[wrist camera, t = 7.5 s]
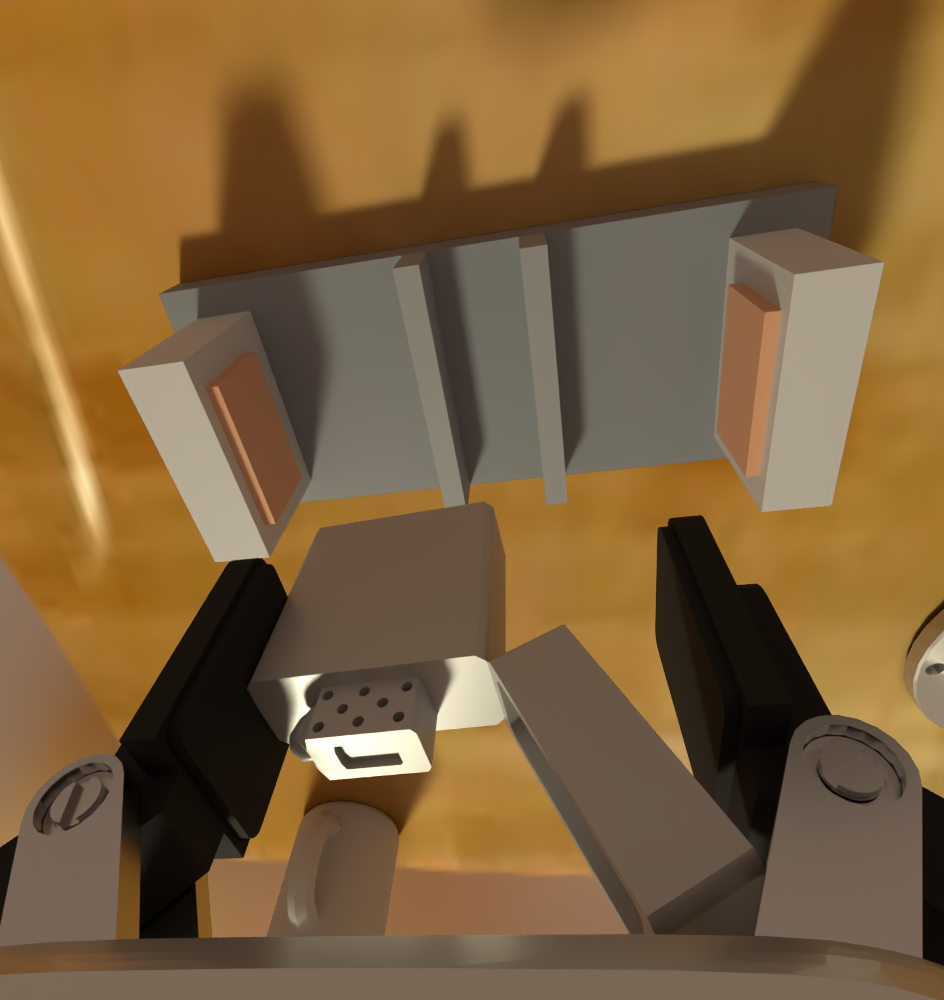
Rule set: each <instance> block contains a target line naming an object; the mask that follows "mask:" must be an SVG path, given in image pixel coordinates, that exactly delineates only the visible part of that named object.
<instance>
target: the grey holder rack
mask: <svg viewBox="0 0 944 1000" xmlns="http://www.w3.org/2000/svg"><path fill="white" fill-rule="evenodd" d="M837 188H838V186H836V185H831V184H827V183H822V182H817V181H814V182H807V183H801V184H795V185H789V186H783V187H776V188H770V189H764V190H758V191H752V192H745V193H739V194H733V195H727V196H721V197H714V198H708V199H702V200H696V201H690V202H683V203H677V204H671V205H665V206H658V207H652V208H646V209H640V210H634V211H627V212H621V213H615V214H609V215H603V216H596V217H590V218H584V219H578V220H572V221H565V222H559V223H553V224H547V225H541V226H534V227H528V228H522V229H516V230H509V231H503V232H497V233H491V234H485V235H478V236H472V237H466V238H460V239H454V240H447V241H441V242H435V243H429V244H423V245H416V246H410V247H404V248H398V249H392V250H385V251H379V252H373V253H367V254H360V255H354V256H348V257H342V258H336V259H329V260H323V261H317V262H311V263H305V264H298V265H292V266H286V267H280V268H274V269H267V270H261V271H255V272H249V273H243V274H236V275H230V276H224V277H218V278H211V279H205V280H199V281H193V282H187V283H180V284H178V285H176V286H174V287H172V288H170V289H168V290H166V291H164V292H162V293H160V294H159V296H160V298H161V300H162V303H163V305H164V307H165V310H166V312H167V314H168V316H169V319H170V321H171V323H172V326H173V328H174V330H175V332H176V333H175V334H173V335H172V336H170V337H169V338H167V339H166V340H164V341H163V342H161V343H159V344H158V345H156V346H155V347H153V348H152V349H150V350H149V351H147V352H146V353H144V354H143V355H141V356H139V357H138V358H136V359H135V360H133V361H132V362H130V363H129V364H127V365H126V366H124V367H123V368H121V369H120V370H118V372H119V374H120V376H121V378H122V380H123V382H124V384H125V386H126V388H127V390H128V392H129V394H130V396H131V398H132V400H133V402H134V404H135V406H136V408H137V410H138V412H139V414H140V416H141V417H142V419H143V421H144V423H145V425H146V427H147V429H148V431H149V433H150V435H151V437H152V439H153V441H154V443H155V445H156V447H157V449H158V451H159V453H160V455H161V457H162V459H163V461H164V463H165V464H166V466H167V468H168V470H169V472H170V474H171V476H172V478H173V480H174V482H175V484H176V486H177V488H178V490H179V492H180V494H181V496H182V498H183V500H184V502H185V504H186V506H187V508H188V510H189V511H190V513H191V515H192V517H193V519H194V521H195V523H196V525H197V527H198V529H199V531H200V533H201V535H202V537H203V539H204V541H205V543H206V545H207V547H208V549H209V551H210V553H211V555H212V556H213V558H214V560H215V562H223V561H233V560H241V559H252V558H266V557H270V556H271V554H272V552H273V550H274V548H275V547H276V545H277V543H278V541H279V539H280V537H281V536H282V534H283V532H284V530H285V528H286V526H287V524H288V523H289V521H290V519H291V517H292V515H293V513H294V512H295V510H296V508H297V506H298V504H299V503H300V502H310V501H320V500H329V499H339V498H348V497H358V496H367V495H377V494H387V493H396V492H406V491H415V490H425V489H434V488H441V493H442V497H443V502H444V506H445V508H448V507H454V506H460V505H466V504H468V499H469V490H470V485H473V484H482V483H492V482H502V481H511V480H521V479H530V478H540V477H543V479H544V488H545V498H546V505H551V504H561V503H568V498H567V486H566V475H569V474H578V473H588V472H597V471H607V470H617V469H626V468H636V467H645V466H655V465H664V464H674V463H684V462H693V461H703V460H712V459H722V458H728V460H729V461H730V463H731V464H732V466H733V468H734V469H735V471H736V472H737V474H738V476H739V477H740V479H741V480H742V482H743V483H744V485H745V487H746V488H747V490H748V491H749V493H750V494H751V496H752V498H753V499H754V501H755V502H756V504H757V505H758V507H759V509H760V510H761V512H766V511H777V510H788V509H799V508H810V507H821V506H831V505H832V500H833V496H834V491H835V486H836V482H837V477H838V473H839V468H840V463H841V459H842V454H843V450H844V445H845V440H846V436H847V431H848V427H849V422H850V417H851V413H852V408H853V404H854V399H855V394H856V390H857V385H858V381H859V376H860V371H861V367H862V362H863V358H864V353H865V348H866V344H867V339H868V335H869V330H870V325H871V321H872V316H873V312H874V307H875V302H876V298H877V293H878V289H879V284H880V279H881V275H882V270H883V266H884V262H883V261H881V260H878V259H875V258H873V257H870V256H868V255H865V254H863V253H860V252H858V251H855V250H853V249H850V248H847V247H845V246H842V245H840V244H837V243H835V242H832V241H830V240H829V237H830V231H831V225H832V219H833V213H834V207H835V201H836V194H837Z"/></svg>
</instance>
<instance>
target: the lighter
mask: <svg viewBox="0 0 944 1000" xmlns="http://www.w3.org/2000/svg"><path fill="white" fill-rule="evenodd" d="M247 690H248V691H249V693H250V695H251V697H252V699H253V700H254V702H255V704H256V706H257V707H258V709H259V711H260V712H261V714H262V715H263V717H264V718H265V720H266V721H267V723H268V724H269V726H270V727H271V729H272V730H273V732H274V733H275V735H276V736H277V738H278V739H279V740H280V741H283V742H286V743H288V744H289V745H290V750H291V752H292V753H293V754H294V755H295V756H296V757H298V758H299V759H300V760H301V761H303V762H307V761H311V762H312V763H313V764H314V765H315V766H316V767H317V768H318V769H319V771H320V772H322V773H323V774H324V775H325V776H326V777H327V778H328V779H330V780H337V779H348V778H360V777H371V776H383V775H395V774H406V773H418V772H429V770H430V769H431V767H432V759H433V750H434V742H435V733H436V731H437V730H448V729H458V728H468V727H478V726H488V725H497V724H499V723H500V722H501V721H502V720H503V719H504V718H505V720H506V722H507V725H508V727H509V729H510V731H511V733H512V735H513V737H514V738H515V740H516V742H517V743H518V745H519V747H520V749H521V750H522V752H523V754H524V756H525V757H526V759H527V761H528V762H529V764H530V766H531V768H532V769H533V771H534V773H535V775H536V776H537V778H538V780H539V781H540V783H541V785H542V787H543V788H544V790H545V792H546V794H547V795H548V797H549V799H550V801H551V802H552V804H553V806H554V807H555V809H556V811H557V813H558V814H559V816H560V818H561V820H562V821H563V823H564V825H565V826H566V828H567V830H568V832H569V833H570V835H571V837H572V839H573V840H574V842H575V844H576V846H577V847H578V849H579V851H580V852H581V854H582V856H583V858H584V859H585V861H586V863H587V865H588V866H589V868H590V870H591V871H592V873H593V875H594V877H595V878H596V880H597V882H598V884H599V885H600V887H601V889H602V890H603V892H604V894H605V896H606V897H607V899H608V901H609V902H610V904H611V906H612V908H613V910H614V911H615V913H616V915H617V916H618V918H619V920H620V922H621V923H622V925H623V927H624V929H625V930H626V932H627V934H661V935H729V936H751V935H753V932H754V927H755V922H756V916H757V911H758V906H759V900H760V895H761V889H762V884H763V879H764V874H765V868H764V866H763V865H762V863H761V861H760V859H759V857H758V855H757V853H756V851H755V849H754V847H753V846H752V845H751V844H750V843H749V841H748V840H747V839H746V838H745V837H744V836H743V834H742V833H741V832H740V831H739V830H738V828H737V827H736V826H735V825H734V824H733V823H732V821H731V820H730V819H729V818H728V817H727V815H726V814H725V813H724V812H723V811H722V810H721V808H720V807H719V806H718V805H717V804H716V803H715V801H714V800H713V799H712V798H711V797H710V795H709V794H708V793H707V792H706V791H705V790H704V788H703V787H702V786H701V785H700V784H699V782H698V781H697V780H696V779H695V778H694V777H693V775H692V774H691V773H690V772H689V771H688V770H687V768H686V767H685V766H684V765H683V764H682V762H681V761H680V760H679V759H678V758H677V757H676V755H675V754H674V753H673V752H672V751H671V749H670V748H669V747H668V746H667V745H666V744H665V742H664V741H663V740H662V739H661V738H660V737H659V735H658V734H657V733H656V732H655V731H654V729H653V728H652V727H651V726H650V725H649V724H648V722H647V721H646V720H645V719H644V718H643V716H642V715H641V714H640V713H639V712H638V711H637V709H636V708H635V707H634V706H633V705H632V704H631V702H630V701H629V700H628V699H627V698H626V696H625V695H624V694H623V693H622V692H621V691H620V689H619V688H618V687H617V686H616V685H615V683H614V682H613V681H612V680H611V679H610V678H609V676H608V675H607V674H606V673H605V672H604V671H603V669H602V668H601V667H600V666H599V665H598V663H597V662H596V661H595V660H594V659H593V658H592V656H591V655H590V654H589V653H588V652H587V650H586V649H585V648H584V647H583V646H582V645H581V643H580V642H579V641H578V640H577V639H576V638H575V636H574V635H573V634H572V633H571V632H570V630H569V629H568V628H567V627H566V626H565V625H561V626H559V627H557V628H555V629H553V630H551V631H549V632H547V633H545V634H543V635H541V636H539V637H537V638H535V639H533V640H531V641H529V642H527V643H525V644H523V645H521V646H519V647H517V648H515V649H513V650H511V651H509V652H507V653H505V552H504V548H503V544H502V540H501V536H500V532H499V528H498V524H497V520H496V516H495V512H494V508H493V507H492V506H491V505H489V504H487V503H485V502H478V503H472V504H466V505H460V506H454V507H448V508H441V509H435V510H429V511H423V512H417V513H411V514H404V515H398V516H392V517H386V518H380V519H374V520H367V521H361V522H355V523H349V524H343V525H337V526H330V527H324V528H320V529H319V531H318V532H317V534H316V536H315V538H314V540H313V542H312V545H311V547H310V549H309V551H308V553H307V556H306V558H305V560H304V562H303V565H302V567H301V569H300V571H299V573H298V576H297V578H296V580H295V582H294V584H293V587H292V589H291V591H290V593H289V596H288V598H287V601H286V603H285V605H284V607H283V609H282V612H281V614H280V616H279V618H278V621H277V623H276V625H275V627H274V629H273V632H272V634H271V636H270V638H269V641H268V643H267V645H266V647H265V649H264V652H263V654H262V656H261V658H260V661H259V663H258V665H257V667H256V669H255V672H254V674H253V676H252V678H251V681H250V683H249V685H248V687H247Z"/></svg>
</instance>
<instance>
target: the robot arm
mask: <svg viewBox="0 0 944 1000" xmlns="http://www.w3.org/2000/svg"><path fill="white" fill-rule="evenodd" d="M287 598H288V597H287V594H286V592H285V590H284V588H283V586H282V583H281V581H280V579H279V577H278V574H277V572H276V570H275V568H274V566H272V565H271V564H266V562H265V561H264V560H263V559H262V558H252V559H241V560H233V561H230V562H229V563H228V565H227V566H226V567H225V569H224V571H223V572H222V574H221V576H220V577H219V579H218V581H217V582H216V584H215V585H214V587H213V589H212V590H211V592H210V594H209V595H208V597H207V598H206V600H205V602H204V603H203V605H202V607H201V608H200V610H199V611H198V613H197V615H196V616H195V618H194V620H193V621H192V623H191V624H190V626H189V628H188V629H187V631H186V633H185V634H184V636H183V638H182V639H181V641H180V642H179V644H178V646H177V647H176V649H175V651H174V652H173V654H172V655H171V657H170V659H169V660H168V662H167V664H166V665H165V667H164V668H163V670H162V672H161V673H160V675H159V677H158V678H157V680H156V682H155V683H154V685H153V686H152V688H151V690H150V691H149V693H148V695H147V696H146V698H145V699H144V701H143V703H142V704H141V706H140V708H139V709H138V711H137V712H136V714H135V716H134V717H133V719H132V721H131V722H130V724H129V725H128V727H127V729H126V730H125V732H124V734H123V735H122V737H121V739H120V740H119V741H120V743H121V746H120V748H119V749H118V751H117V753H116V754H115V756H113V755H109V754H94V755H91V756H88V757H85V758H82V759H79V760H77V761H76V762H73V763H72V764H70V765H68V766H66V767H65V768H63V769H62V770H60V771H59V772H58V773H57V774H56V775H54V776H53V777H51V778H50V779H49V780H48V781H47V782H46V783H45V784H44V785H43V786H42V787H41V788H40V789H39V790H38V792H37V793H36V794H35V795H34V797H33V799H32V800H31V802H30V803H29V805H28V806H27V808H26V811H25V813H24V816H23V819H22V822H21V827H20V831H19V835H18V836H16V837H15V838H13V839H12V840H10V841H9V842H7V843H6V844H5V845H3V846H2V847H0V1000H944V798H942V797H940V796H938V795H937V794H935V793H933V792H931V791H929V790H928V789H926V788H924V787H922V784H921V779H920V774H919V770H918V768H917V767H916V765H915V763H914V762H913V760H912V758H911V757H910V755H909V754H908V752H907V751H906V750H905V749H904V748H903V747H902V746H901V745H900V744H899V743H898V742H897V741H896V740H895V739H893V738H892V737H890V736H889V735H887V734H886V733H884V732H883V731H881V730H880V729H878V728H877V727H875V726H872V725H870V724H868V723H865V722H863V721H861V720H858V719H855V718H850V717H845V716H840V715H831V713H830V711H829V709H828V708H827V706H826V704H825V702H824V700H823V698H822V696H821V695H820V693H819V691H818V689H817V687H816V685H815V683H814V682H813V680H812V678H811V676H810V674H809V672H808V671H807V669H806V667H805V665H804V663H803V661H802V659H801V658H800V656H799V654H798V652H797V650H796V648H795V646H794V645H793V643H792V641H791V639H790V637H789V635H788V633H787V632H786V630H785V628H784V626H783V624H782V622H781V621H780V619H779V617H778V615H777V613H776V611H775V609H774V608H773V606H772V604H771V602H770V600H769V598H768V596H767V595H766V593H765V591H764V590H763V588H762V587H761V586H760V585H758V584H746V585H736V582H735V580H734V578H733V576H732V574H731V572H730V570H729V568H728V566H727V564H726V562H725V560H724V558H723V556H722V554H721V552H720V550H719V548H718V546H717V544H716V542H715V539H714V537H713V535H712V533H711V531H710V529H709V527H708V525H707V523H706V521H705V519H704V518H703V516H701V515H699V516H688V517H678V518H670V519H669V521H668V526H667V527H659V528H658V534H657V578H656V621H655V633H656V642H657V647H658V651H659V655H660V658H661V662H662V665H663V669H664V672H665V676H666V679H667V683H668V686H669V690H670V694H671V697H672V701H673V704H674V708H675V711H676V715H677V718H678V722H679V725H680V729H681V732H682V736H683V739H684V743H685V746H686V750H687V754H688V757H689V761H690V764H691V768H692V771H693V775H694V778H695V779H696V780H697V781H698V782H699V784H700V785H701V786H702V787H703V788H704V790H705V791H706V792H707V793H708V794H709V795H710V797H711V798H712V799H713V800H714V801H715V803H716V804H717V805H718V806H719V807H720V808H721V810H722V811H723V812H724V813H725V814H726V815H727V817H728V818H729V819H730V820H731V821H732V823H733V824H734V825H735V826H736V827H737V828H738V830H739V831H740V832H741V833H742V834H743V836H744V837H745V838H746V839H747V840H748V841H749V843H750V844H751V845H752V846H753V847H754V849H755V851H756V853H757V855H758V857H759V859H760V861H761V863H762V865H763V866H764V868H765V874H764V879H763V884H762V889H761V895H760V900H759V906H758V911H757V916H756V922H755V927H754V932H753V935H751V936H729V935H661V934H627V935H626V934H616V935H615V934H614V935H613V934H612V935H611V934H610V935H609V934H607V935H605V934H602V935H427V936H426V935H422V936H421V935H415V936H308V937H238V938H237V937H236V938H235V937H231V938H212V926H211V914H210V901H209V888H208V875H207V872H208V871H209V870H210V867H211V864H212V862H213V860H214V859H225V858H243V857H244V854H245V851H246V849H247V846H248V843H249V840H250V838H254V837H256V836H257V834H258V833H259V831H260V829H261V826H262V823H263V820H264V817H265V814H266V811H267V809H268V806H269V803H270V800H271V797H272V794H273V791H274V788H275V785H276V782H277V779H278V776H279V773H280V770H281V767H282V765H283V762H284V759H285V756H286V753H287V750H288V747H289V744H288V743H286V742H283V741H280V740H279V739H278V738H277V736H276V735H275V733H274V732H273V730H272V729H271V727H270V726H269V724H268V723H267V721H266V720H265V718H264V717H263V715H262V714H261V712H260V711H259V709H258V707H257V706H256V704H255V702H254V700H253V699H252V697H251V695H250V693H249V691H248V690H247V687H248V685H249V683H250V681H251V678H252V676H253V674H254V672H255V669H256V667H257V665H258V663H259V661H260V658H261V656H262V654H263V652H264V649H265V647H266V645H267V643H268V641H269V638H270V636H271V634H272V632H273V629H274V627H275V625H276V623H277V621H278V618H279V616H280V614H281V612H282V609H283V607H284V605H285V603H286V601H287ZM904 679H905V684H906V689H907V691H908V692H909V694H910V696H911V697H912V699H913V700H914V702H915V704H916V705H917V707H918V708H919V709H920V710H921V712H922V713H923V714H924V715H925V716H926V717H927V719H929V720H930V721H932V722H933V723H935V724H936V725H938V726H939V727H941V728H943V729H944V609H943V610H942V611H941V612H939V613H938V614H937V615H936V616H935V617H934V618H933V619H932V620H931V621H930V622H929V623H928V624H927V625H926V626H925V628H924V629H923V631H922V632H921V633H920V635H919V636H918V637H917V639H916V640H915V642H914V643H913V645H912V647H911V650H910V652H909V654H908V656H907V659H906V663H905V670H904Z"/></svg>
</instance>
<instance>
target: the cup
mask: <svg viewBox="0 0 944 1000" xmlns="http://www.w3.org/2000/svg"><path fill="white" fill-rule="evenodd" d="M398 842H399V834H398V830H397V828H396V825H395V823H394V822H393V821H392V819H391V818H390V817H389V816H387V815H386V814H385V813H384V812H382V811H380V810H378V809H376V808H374V807H371V806H368V805H365V804H361V803H355V802H348V801H335V802H327V803H324V804H321V805H318V806H316V807H314V808H313V809H311V810H310V811H309V812H308V813H307V814H306V815H305V816H304V818H303V819H302V821H301V824H300V826H299V829H298V832H297V835H296V839H295V842H294V846H293V849H292V852H291V856H290V859H289V862H288V866H287V869H286V873H285V876H284V879H283V883H282V886H281V890H280V893H279V896H278V900H277V903H276V906H275V910H274V913H273V916H272V920H271V924H270V927H269V930H268V933H267V937H308V936H385V929H386V923H387V916H388V910H389V902H390V896H391V890H392V883H393V877H394V870H395V864H396V857H397V851H398Z"/></svg>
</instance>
